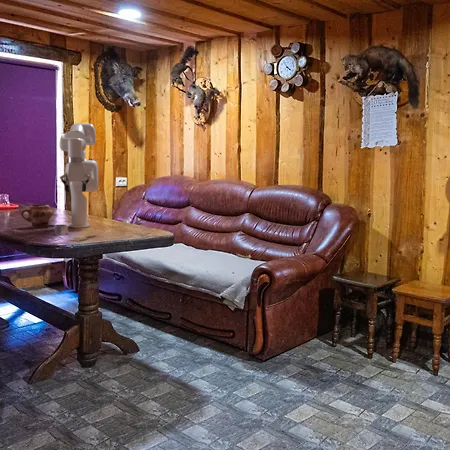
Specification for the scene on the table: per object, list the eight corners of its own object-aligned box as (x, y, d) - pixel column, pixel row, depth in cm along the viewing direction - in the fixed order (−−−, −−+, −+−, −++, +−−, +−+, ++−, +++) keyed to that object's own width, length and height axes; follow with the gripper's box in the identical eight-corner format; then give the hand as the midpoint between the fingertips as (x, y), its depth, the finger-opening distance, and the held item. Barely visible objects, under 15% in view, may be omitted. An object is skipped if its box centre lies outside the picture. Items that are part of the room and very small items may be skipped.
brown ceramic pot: (25, 229, 315) (25, 206, 313) (17, 227, 323) (17, 204, 321) (57, 227, 328) (57, 205, 326) (48, 224, 337) (48, 203, 335)
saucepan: (70, 233, 304) (70, 225, 303) (62, 235, 297) (62, 226, 296) (49, 231, 309) (49, 223, 309) (40, 233, 302) (40, 224, 302)
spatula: (90, 235, 298) (89, 234, 297) (98, 236, 296) (98, 235, 296) (70, 240, 281) (70, 238, 281) (79, 241, 279) (79, 239, 279)
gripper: (86, 160, 298) (87, 191, 300) (57, 160, 287) (57, 191, 289) (92, 161, 292) (93, 191, 294) (62, 160, 281) (63, 192, 283)
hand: (75, 191), depth 292 cm, fingers open, 9 cm apart
